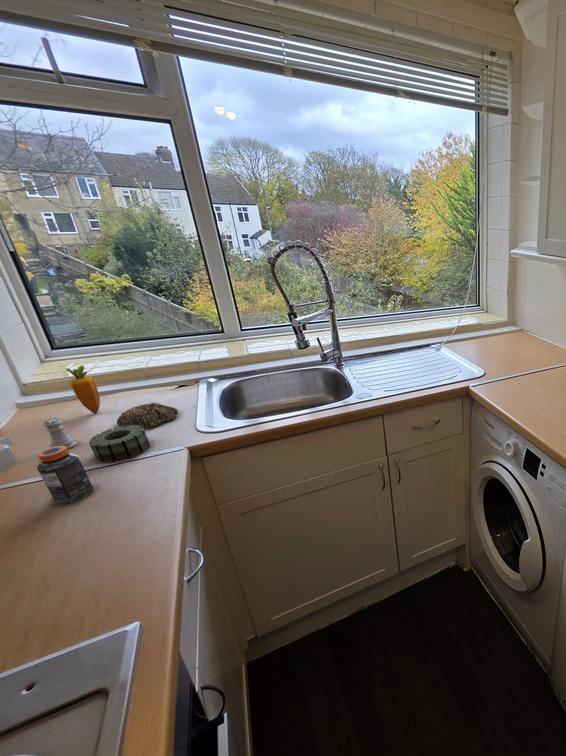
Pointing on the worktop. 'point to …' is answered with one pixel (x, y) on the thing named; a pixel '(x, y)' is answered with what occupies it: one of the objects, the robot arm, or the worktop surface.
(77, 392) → the carrot
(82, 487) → the pill bottle
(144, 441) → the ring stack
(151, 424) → the bread roll
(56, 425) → the rook chess piece
